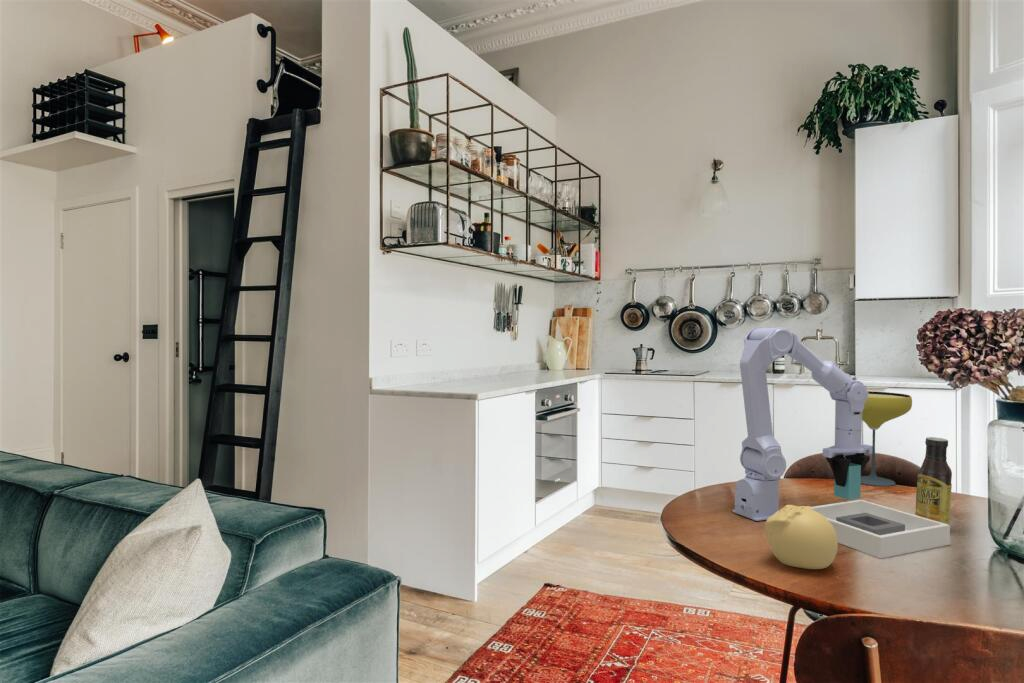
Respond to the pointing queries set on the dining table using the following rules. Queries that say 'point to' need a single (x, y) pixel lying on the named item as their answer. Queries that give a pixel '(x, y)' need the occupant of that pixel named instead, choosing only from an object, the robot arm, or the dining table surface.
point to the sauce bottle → (934, 483)
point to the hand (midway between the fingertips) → (847, 484)
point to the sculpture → (801, 537)
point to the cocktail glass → (874, 415)
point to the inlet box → (883, 528)
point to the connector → (850, 484)
